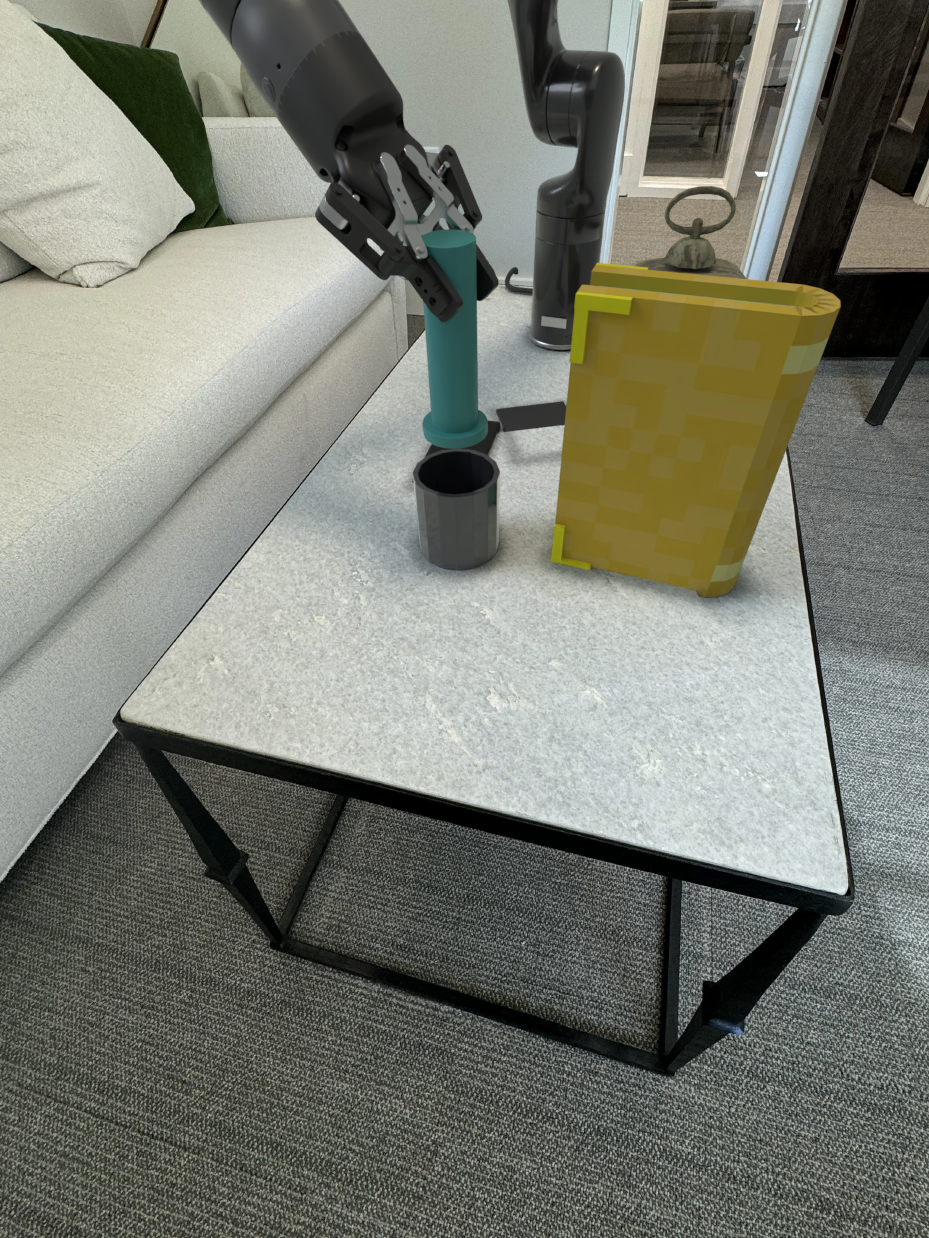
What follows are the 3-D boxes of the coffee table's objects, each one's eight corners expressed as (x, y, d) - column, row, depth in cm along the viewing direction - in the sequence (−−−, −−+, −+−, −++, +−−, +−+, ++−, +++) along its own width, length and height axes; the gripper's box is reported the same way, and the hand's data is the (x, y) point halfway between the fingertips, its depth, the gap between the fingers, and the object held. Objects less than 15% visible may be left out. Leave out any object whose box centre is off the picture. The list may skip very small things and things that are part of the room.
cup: (416, 529, 67) (408, 454, 60) (489, 520, 68) (489, 444, 61) (426, 579, 62) (419, 502, 55) (505, 568, 62) (507, 490, 56)
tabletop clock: (603, 436, 79) (637, 199, 61) (595, 401, 85) (624, 176, 67) (723, 436, 78) (794, 196, 60) (705, 400, 84) (765, 172, 66)
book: (550, 565, 62) (575, 294, 44) (567, 525, 67) (597, 262, 49) (731, 606, 58) (841, 323, 40) (737, 560, 62) (839, 285, 44)
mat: (496, 412, 83) (496, 408, 83) (562, 404, 84) (563, 401, 84) (518, 462, 75) (518, 458, 75) (591, 452, 76) (592, 449, 76)
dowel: (419, 419, 57) (402, 229, 46) (480, 412, 58) (478, 223, 47) (428, 452, 53) (412, 254, 43) (493, 444, 54) (495, 247, 43)
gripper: (256, 38, 36) (443, 306, 40) (412, 16, 44) (554, 241, 48) (222, 145, 42) (386, 368, 46) (364, 108, 50) (494, 302, 54)
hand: (471, 302), depth 47 cm, fingers closed on dowel, 4 cm apart
